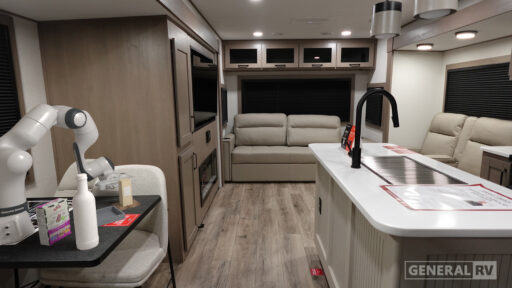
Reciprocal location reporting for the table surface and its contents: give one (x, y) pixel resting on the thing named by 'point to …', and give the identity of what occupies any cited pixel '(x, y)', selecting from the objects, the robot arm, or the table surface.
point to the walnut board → (120, 207)
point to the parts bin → (109, 215)
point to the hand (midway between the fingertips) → (121, 185)
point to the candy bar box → (53, 221)
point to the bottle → (84, 215)
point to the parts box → (125, 191)
